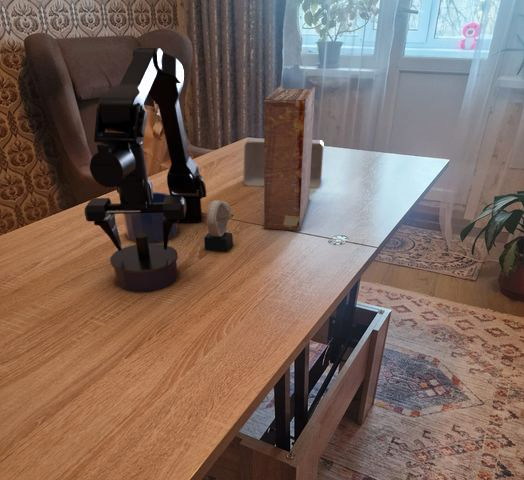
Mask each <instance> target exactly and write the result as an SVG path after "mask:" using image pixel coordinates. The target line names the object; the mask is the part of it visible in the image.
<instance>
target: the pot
mask: <svg viewBox="0 0 524 480" xmlns="http://www.w3.org/2000/svg"><path fill="white" fill-rule="evenodd" d="M165 197H173V196H171V195H170V193H169V194H168V193H166V192H158V191H157V192H156V191H153V200H151V203H159V202H164V199H165ZM122 216H123V222H124V227H125V233H126V237H127V238H128V239H129V240H130V241H132V242H135V243H136V240H135V235H136V234H140V233H144V234H147V239H148V243H157V244H158V243H162V242H163V219H164V215H163V213H129V214H122ZM178 230H179V229H178V223H174V224H173V225H172V228H171V231H170V235H169V240H171V239H174V238H175V237H176V236H177V235H178V233H179V232H178Z"/></svg>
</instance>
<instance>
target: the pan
mask: <svg viewBox="0 0 524 480" xmlns="http://www.w3.org/2000/svg"><path fill="white" fill-rule="evenodd" d="M113 272H114V276H115V281H116V283H117V285H118V286H119V287H120V288H122V289H123V290H127V291H130V292H137V293H138V292H139V293H140V292H141V293H145V292H154V291H158V290H161V289H165V288H167V287H169V286H171V285H172V284H174V282H176V281H177V279H178V264H177V260H176V261H175V262H174V263H173V264H172V265H170V266H168V267H166V268H164V269H161V270H158V271H153V272H147V273H128V272H123V271H119V270H117V269H115V268H114V267H113Z"/></svg>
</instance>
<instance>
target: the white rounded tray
mask: <svg viewBox="0 0 524 480" xmlns="http://www.w3.org/2000/svg"><path fill="white" fill-rule="evenodd" d="M324 145H325V143H324V141H323V140H321V139H312V151H311V170H310V188H309V189H318V188H320V187H321V184H322V178H323V177H322V176H323V175H322V174H323V163H324V162H323V160H324V149H325V148H324ZM242 177H243V178H242V180H243V181H242V182H243V184H244V185H245V186H248V187H249V186H251V187H264V138H258V137H256V138H255V137H254V138H253V137H250V138H248V139H247V140H246V142H245V143H244V145H243V176H242Z"/></svg>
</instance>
